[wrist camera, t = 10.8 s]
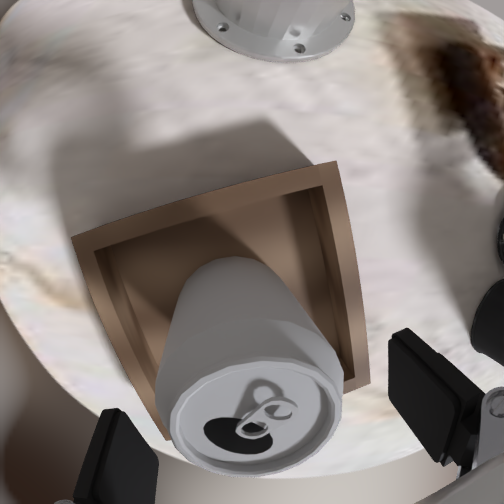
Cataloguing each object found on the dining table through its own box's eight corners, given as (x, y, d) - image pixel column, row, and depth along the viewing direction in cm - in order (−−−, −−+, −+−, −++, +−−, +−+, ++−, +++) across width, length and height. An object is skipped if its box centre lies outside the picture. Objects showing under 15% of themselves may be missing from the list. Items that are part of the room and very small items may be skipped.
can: (158, 317, 20) (114, 444, 9) (221, 230, 20) (234, 292, 8) (244, 370, 22) (271, 502, 10) (308, 293, 21) (397, 395, 10)
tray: (94, 228, 19) (70, 237, 16) (314, 165, 20) (336, 160, 17) (170, 409, 23) (165, 440, 19) (350, 357, 24) (370, 383, 20)
